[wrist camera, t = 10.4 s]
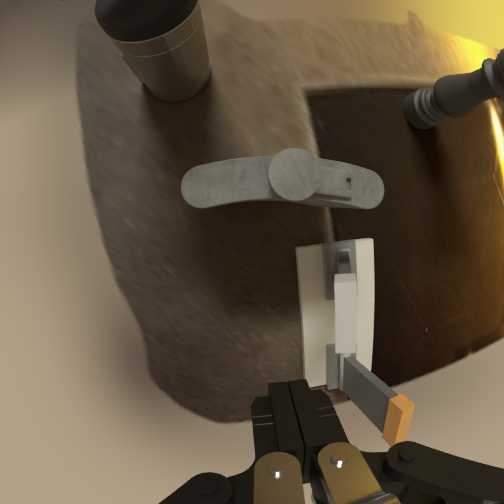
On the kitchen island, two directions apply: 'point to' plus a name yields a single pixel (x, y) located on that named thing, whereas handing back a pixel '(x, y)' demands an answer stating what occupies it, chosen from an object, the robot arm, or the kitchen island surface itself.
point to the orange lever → (376, 399)
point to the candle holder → (455, 94)
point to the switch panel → (332, 307)
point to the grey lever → (345, 304)
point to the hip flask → (282, 182)
